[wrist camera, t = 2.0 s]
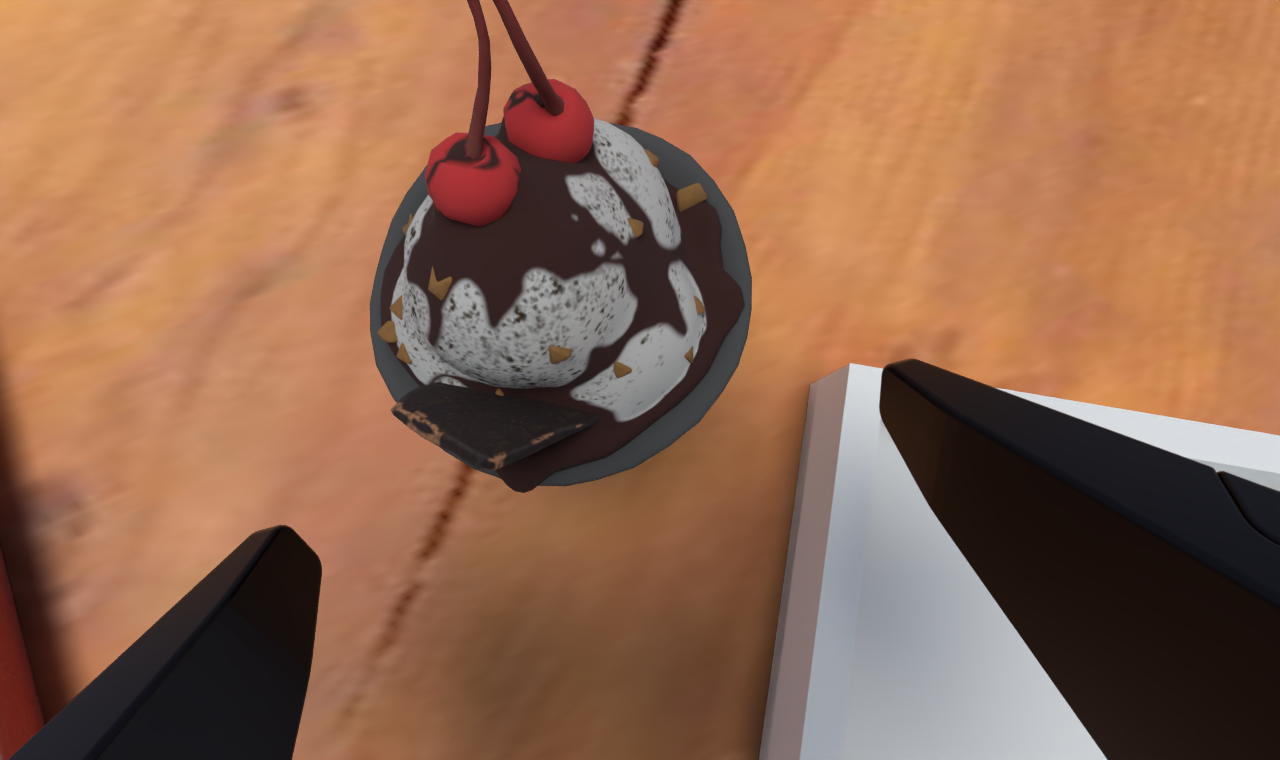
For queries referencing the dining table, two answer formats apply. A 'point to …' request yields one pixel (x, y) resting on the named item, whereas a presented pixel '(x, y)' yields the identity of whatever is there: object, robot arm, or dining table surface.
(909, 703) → the tray
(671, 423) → the sundae
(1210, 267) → the dining table surface
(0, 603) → the plant saucer
